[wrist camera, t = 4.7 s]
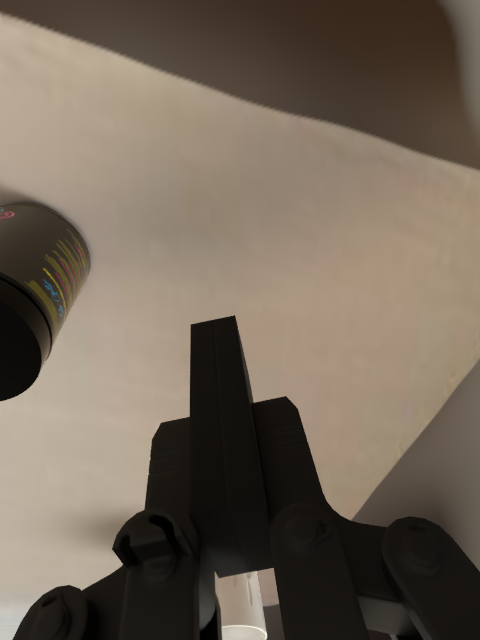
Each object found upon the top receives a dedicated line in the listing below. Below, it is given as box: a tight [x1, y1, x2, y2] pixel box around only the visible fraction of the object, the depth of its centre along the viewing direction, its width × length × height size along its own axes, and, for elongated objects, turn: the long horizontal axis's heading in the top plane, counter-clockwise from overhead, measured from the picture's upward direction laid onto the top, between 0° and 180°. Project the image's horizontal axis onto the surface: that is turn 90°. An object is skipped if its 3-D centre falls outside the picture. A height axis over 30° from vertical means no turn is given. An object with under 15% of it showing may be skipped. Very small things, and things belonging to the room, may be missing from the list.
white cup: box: [215, 571, 267, 640], centre depth 44 cm, size 8×8×10 cm
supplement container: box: [0, 204, 90, 401], centre depth 21 cm, size 7×7×10 cm
